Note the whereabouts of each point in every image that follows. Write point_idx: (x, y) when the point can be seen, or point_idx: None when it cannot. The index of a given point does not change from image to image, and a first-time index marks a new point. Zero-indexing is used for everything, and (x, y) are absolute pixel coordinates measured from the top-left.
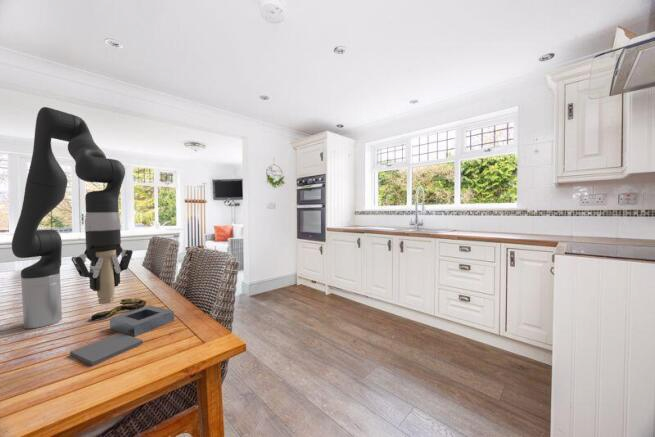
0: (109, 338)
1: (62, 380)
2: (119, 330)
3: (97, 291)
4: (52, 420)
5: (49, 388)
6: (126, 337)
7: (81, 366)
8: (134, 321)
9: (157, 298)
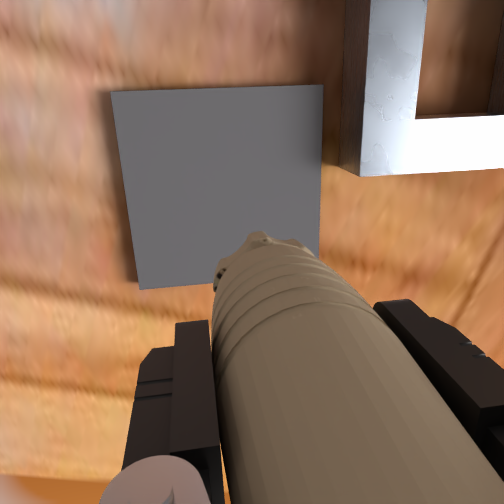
0: (265, 112)
1: (50, 298)
2: (347, 20)
3: (212, 338)
4: (2, 469)
5: (13, 316)
6: (305, 180)
7: (115, 251)
8: (397, 112)
9: None
